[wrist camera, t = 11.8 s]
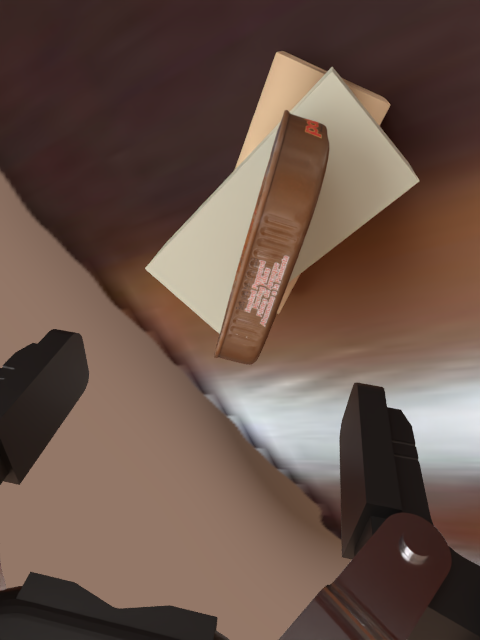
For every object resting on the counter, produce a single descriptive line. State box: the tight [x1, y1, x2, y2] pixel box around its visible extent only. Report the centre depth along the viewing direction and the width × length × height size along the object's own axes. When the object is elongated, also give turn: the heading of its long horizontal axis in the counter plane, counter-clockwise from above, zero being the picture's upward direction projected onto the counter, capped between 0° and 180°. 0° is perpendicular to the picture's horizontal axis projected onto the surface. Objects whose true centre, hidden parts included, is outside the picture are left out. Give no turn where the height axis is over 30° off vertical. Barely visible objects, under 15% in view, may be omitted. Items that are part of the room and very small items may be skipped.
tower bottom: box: [235, 51, 391, 314], centre depth 33 cm, size 8×18×4 cm, turn 159°
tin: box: [214, 110, 329, 365], centre depth 24 cm, size 15×3×8 cm, turn 165°
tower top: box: [145, 67, 419, 334], centre depth 30 cm, size 8×18×4 cm, turn 136°
